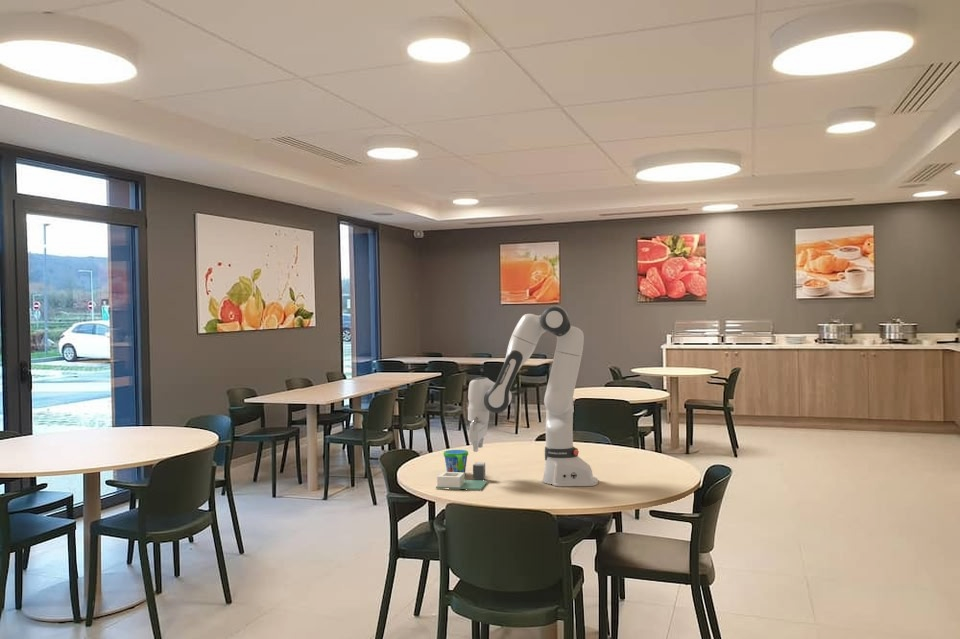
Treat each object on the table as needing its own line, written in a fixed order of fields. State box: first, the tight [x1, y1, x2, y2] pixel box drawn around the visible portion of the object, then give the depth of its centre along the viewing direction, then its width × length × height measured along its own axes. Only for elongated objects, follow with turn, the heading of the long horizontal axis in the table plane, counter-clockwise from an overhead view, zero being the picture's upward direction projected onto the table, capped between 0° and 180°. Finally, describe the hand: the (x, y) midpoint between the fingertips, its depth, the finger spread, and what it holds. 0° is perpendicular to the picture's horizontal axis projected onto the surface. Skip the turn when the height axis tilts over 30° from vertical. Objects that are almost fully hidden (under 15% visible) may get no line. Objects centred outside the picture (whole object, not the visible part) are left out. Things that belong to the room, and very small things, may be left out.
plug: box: [472, 461, 486, 481], centre depth 283 cm, size 5×4×7 cm
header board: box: [435, 471, 488, 492], centre depth 273 cm, size 18×14×5 cm
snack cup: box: [443, 449, 469, 474], centre depth 293 cm, size 16×10×10 cm
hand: (478, 449), depth 283 cm, fingers open, 8 cm apart
